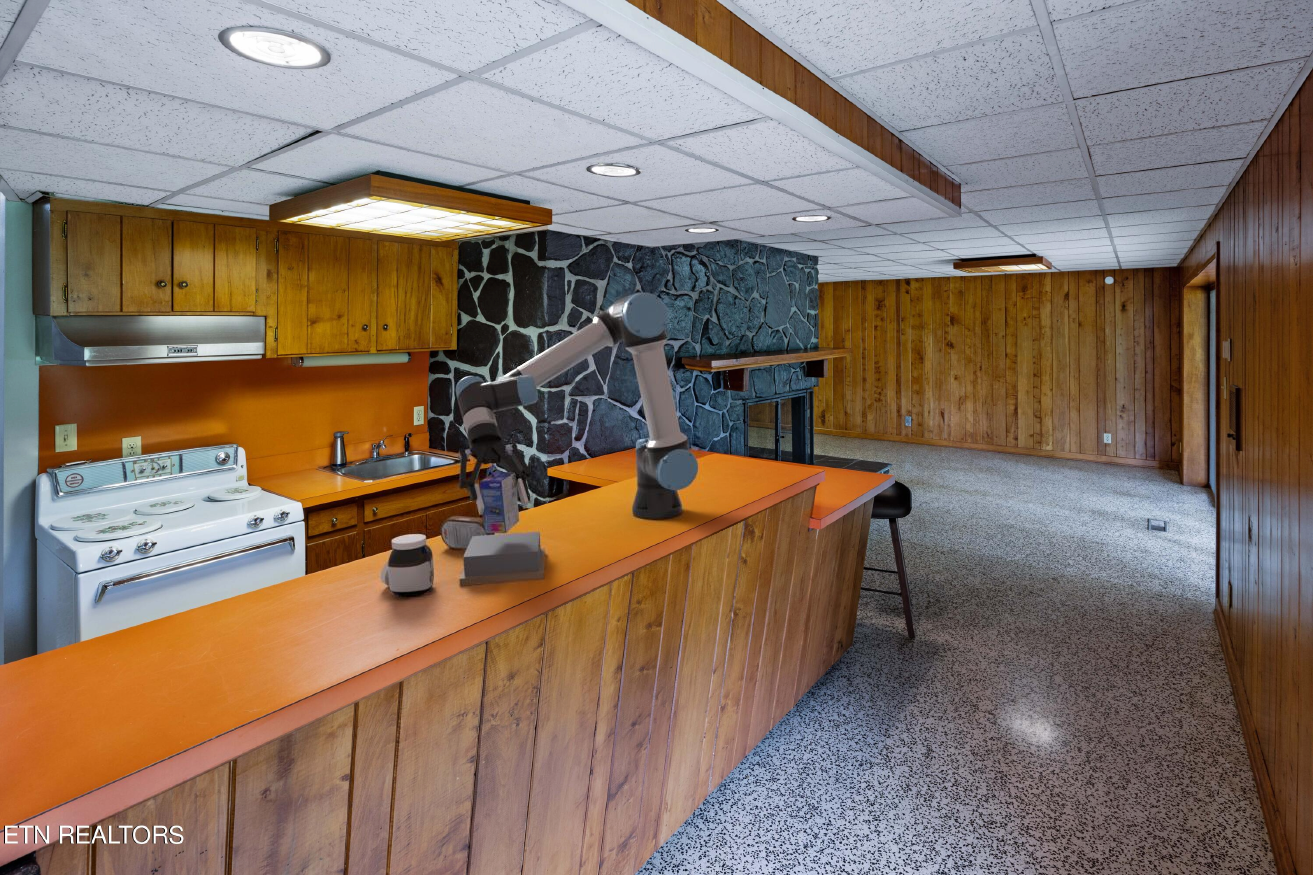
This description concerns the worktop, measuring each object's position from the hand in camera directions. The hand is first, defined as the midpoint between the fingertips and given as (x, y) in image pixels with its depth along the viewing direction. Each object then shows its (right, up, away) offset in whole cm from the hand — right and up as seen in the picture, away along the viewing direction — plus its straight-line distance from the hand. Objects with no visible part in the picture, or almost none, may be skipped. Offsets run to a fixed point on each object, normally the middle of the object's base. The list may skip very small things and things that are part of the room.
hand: (504, 508), depth 148 cm
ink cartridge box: (-1, -5, +4) cm, 6 cm away
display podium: (-1, -15, +5) cm, 15 cm away
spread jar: (-19, -17, -7) cm, 27 cm away
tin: (-14, -13, +21) cm, 28 cm away
